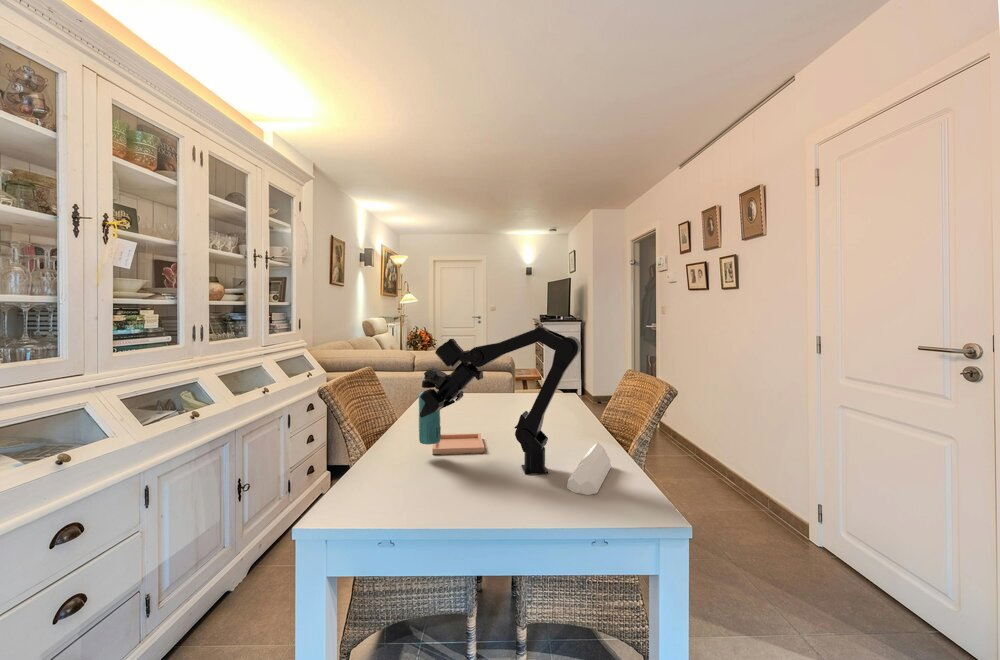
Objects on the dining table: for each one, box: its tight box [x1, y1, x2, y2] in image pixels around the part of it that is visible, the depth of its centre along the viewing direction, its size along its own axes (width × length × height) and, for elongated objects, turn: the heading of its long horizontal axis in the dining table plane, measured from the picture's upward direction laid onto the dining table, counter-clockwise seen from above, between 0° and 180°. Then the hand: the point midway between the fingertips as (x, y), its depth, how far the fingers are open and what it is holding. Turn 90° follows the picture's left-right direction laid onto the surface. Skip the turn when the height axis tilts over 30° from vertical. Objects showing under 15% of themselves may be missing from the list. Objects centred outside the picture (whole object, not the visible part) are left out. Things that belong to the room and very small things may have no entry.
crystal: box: [566, 442, 612, 496], centre depth 117 cm, size 7×7×24 cm
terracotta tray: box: [432, 432, 485, 455], centre depth 144 cm, size 16×16×2 cm
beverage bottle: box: [418, 379, 442, 445], centre depth 131 cm, size 6×7×20 cm
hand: (425, 414), depth 132 cm, fingers closed on beverage bottle, 6 cm apart
